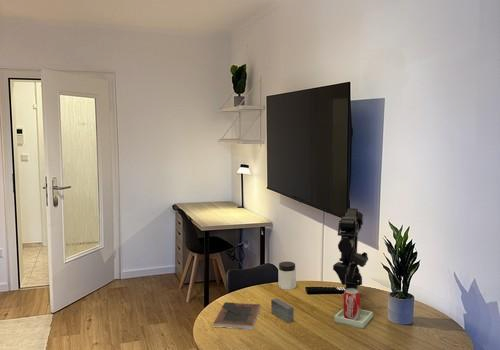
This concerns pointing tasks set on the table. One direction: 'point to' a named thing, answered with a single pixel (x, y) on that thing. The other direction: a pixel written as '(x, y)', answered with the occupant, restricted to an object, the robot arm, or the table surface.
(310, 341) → the table surface
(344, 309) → the soda can
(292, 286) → the jar
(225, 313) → the picture frame
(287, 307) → the grey rectangular block
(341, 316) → the tray
